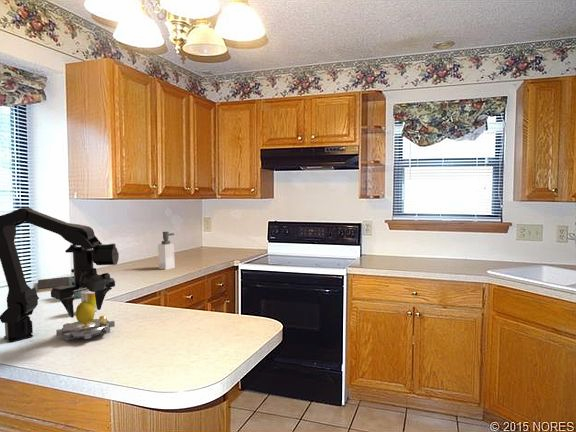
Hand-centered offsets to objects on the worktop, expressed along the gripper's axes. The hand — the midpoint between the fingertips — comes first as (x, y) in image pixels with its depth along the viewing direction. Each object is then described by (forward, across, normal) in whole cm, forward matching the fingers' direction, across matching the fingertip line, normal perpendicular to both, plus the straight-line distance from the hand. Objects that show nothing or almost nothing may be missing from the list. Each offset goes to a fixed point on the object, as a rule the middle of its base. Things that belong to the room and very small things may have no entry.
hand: (85, 313), depth 131 cm
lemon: (+4, 0, 0) cm, 4 cm away
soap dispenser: (+7, +94, +65) cm, 114 cm away
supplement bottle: (+7, +16, +24) cm, 30 cm away
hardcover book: (+8, +35, +80) cm, 88 cm away
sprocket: (+6, 0, 0) cm, 6 cm away
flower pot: (+7, +29, +48) cm, 56 cm away
